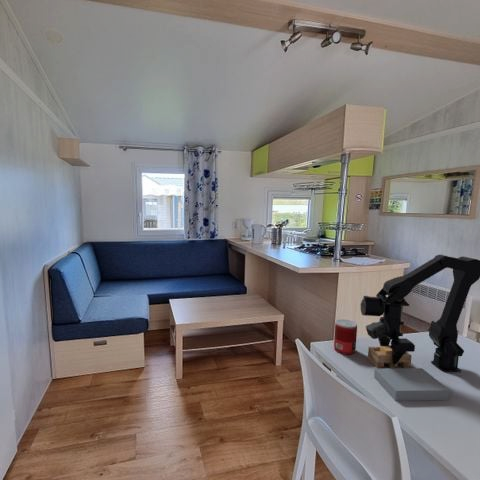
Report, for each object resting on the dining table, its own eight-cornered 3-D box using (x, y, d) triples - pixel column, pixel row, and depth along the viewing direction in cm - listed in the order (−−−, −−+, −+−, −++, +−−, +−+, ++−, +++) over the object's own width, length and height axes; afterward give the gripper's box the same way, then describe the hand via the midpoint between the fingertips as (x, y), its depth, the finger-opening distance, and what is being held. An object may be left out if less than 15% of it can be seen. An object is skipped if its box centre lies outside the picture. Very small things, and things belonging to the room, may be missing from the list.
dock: (421, 376, 98) (422, 368, 98) (448, 399, 86) (449, 390, 86) (374, 377, 97) (374, 368, 97) (395, 400, 86) (396, 390, 85)
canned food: (357, 356, 112) (359, 327, 111) (334, 353, 113) (336, 325, 112) (353, 346, 119) (355, 320, 118) (332, 344, 121) (334, 318, 120)
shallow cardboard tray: (399, 358, 111) (400, 346, 110) (410, 367, 104) (411, 355, 104) (367, 358, 110) (368, 346, 109) (377, 368, 103) (378, 355, 103)
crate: (393, 351, 109) (393, 345, 108) (399, 356, 105) (399, 350, 105) (379, 351, 108) (380, 345, 108) (385, 356, 105) (385, 350, 104)
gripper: (358, 307, 114) (355, 347, 116) (384, 327, 96) (380, 373, 97) (386, 308, 115) (383, 347, 116) (417, 327, 96) (413, 373, 98)
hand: (388, 359), depth 107 cm, fingers closed on shallow cardboard tray, 7 cm apart
